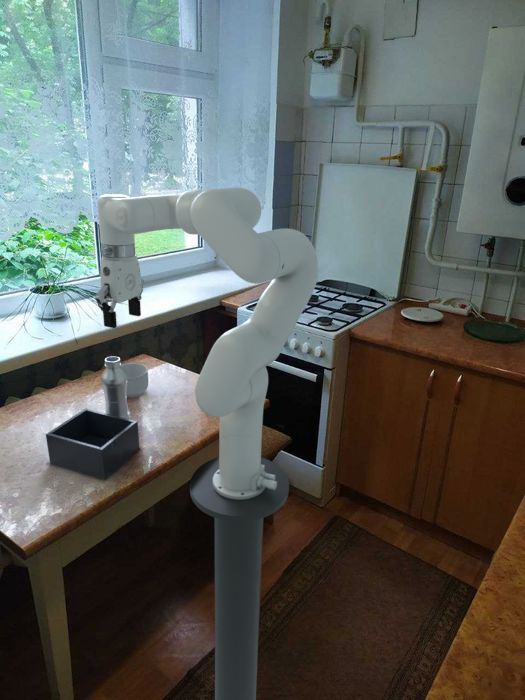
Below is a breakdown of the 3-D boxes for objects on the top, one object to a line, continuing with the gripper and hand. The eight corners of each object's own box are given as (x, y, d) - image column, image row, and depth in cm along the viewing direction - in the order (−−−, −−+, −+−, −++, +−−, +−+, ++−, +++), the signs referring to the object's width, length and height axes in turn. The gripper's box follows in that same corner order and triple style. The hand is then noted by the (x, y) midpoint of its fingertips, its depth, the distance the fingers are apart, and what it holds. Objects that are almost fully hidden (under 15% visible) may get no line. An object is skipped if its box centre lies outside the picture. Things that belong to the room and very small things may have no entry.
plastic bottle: (122, 436, 128) (116, 366, 121) (100, 431, 130) (93, 361, 123) (136, 424, 134) (131, 356, 126) (115, 419, 136) (109, 352, 129)
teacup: (154, 396, 150) (153, 372, 147) (119, 405, 144) (117, 380, 141) (137, 379, 160) (136, 356, 157) (104, 386, 154) (102, 363, 151)
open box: (139, 449, 123) (137, 421, 120) (104, 480, 112) (101, 449, 109) (88, 435, 128) (85, 408, 125) (50, 463, 117) (45, 434, 114)
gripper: (108, 259, 105) (113, 334, 112) (153, 246, 120) (156, 313, 127) (79, 255, 108) (86, 329, 114) (127, 243, 123) (131, 309, 129)
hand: (123, 320), depth 120 cm, fingers open, 9 cm apart
